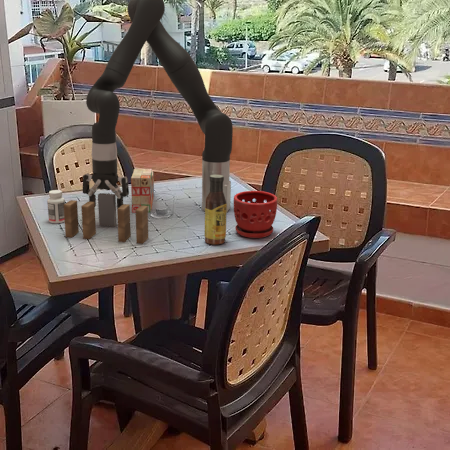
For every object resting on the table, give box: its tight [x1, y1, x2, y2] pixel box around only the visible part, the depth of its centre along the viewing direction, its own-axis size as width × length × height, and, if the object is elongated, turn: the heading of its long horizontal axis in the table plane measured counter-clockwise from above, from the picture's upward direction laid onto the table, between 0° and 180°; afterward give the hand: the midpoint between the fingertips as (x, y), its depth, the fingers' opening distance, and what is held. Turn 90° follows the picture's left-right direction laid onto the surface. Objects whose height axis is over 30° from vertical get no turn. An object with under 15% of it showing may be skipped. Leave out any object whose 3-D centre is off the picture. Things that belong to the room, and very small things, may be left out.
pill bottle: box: [46, 189, 66, 224], centre depth 206 cm, size 5×5×10 cm
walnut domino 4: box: [135, 205, 149, 245], centre depth 190 cm, size 2×5×10 cm, turn 168°
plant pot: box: [233, 190, 278, 239], centre depth 197 cm, size 13×13×12 cm
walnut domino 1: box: [64, 199, 80, 238], centre depth 194 cm, size 2×5×10 cm, turn 168°
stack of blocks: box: [130, 168, 155, 214], centre depth 226 cm, size 21×6×12 cm, turn 3°
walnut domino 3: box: [116, 203, 132, 243], centre depth 191 cm, size 2×5×10 cm, turn 168°
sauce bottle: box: [203, 175, 228, 246], centre depth 188 cm, size 6×6×20 cm
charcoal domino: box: [97, 192, 118, 228], centre depth 203 cm, size 2×5×10 cm, turn 78°
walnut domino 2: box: [80, 200, 97, 240], centre depth 193 cm, size 2×5×10 cm, turn 168°
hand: (106, 208), depth 203 cm, fingers open, 8 cm apart
